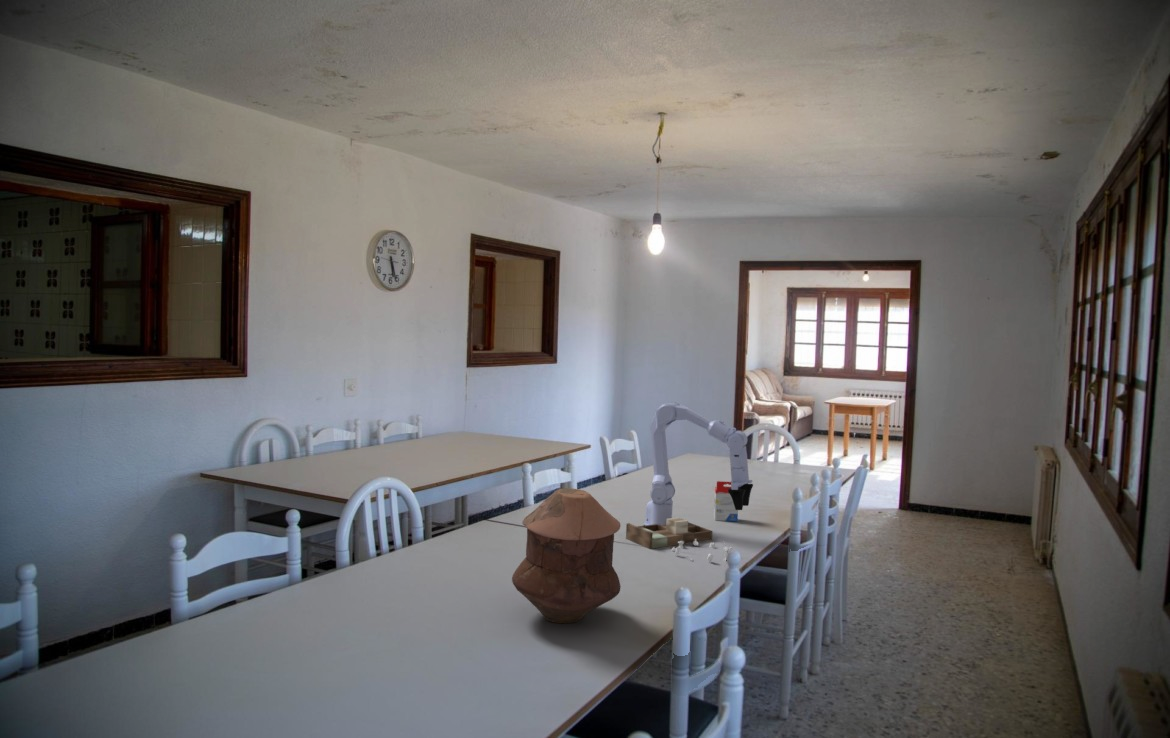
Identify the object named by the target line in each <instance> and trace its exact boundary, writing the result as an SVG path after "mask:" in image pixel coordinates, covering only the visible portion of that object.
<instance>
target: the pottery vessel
mask: <svg viewBox="0 0 1170 738" xmlns="http://www.w3.org/2000/svg"><path fill="white" fill-rule="evenodd" d="M521 523H522V525H523V526H525V528H526V544H525V547H526V549H525V558H524V559H523V560H522V561H521V562H520V564H519V565H518V567H517V568H516V569H515V571H514V572H513V574H512V577H511V583H512V584H513V586H514V587H515V589H516V590H517V592H519V593H520V594H521V595H522V596H524V598H526V599H527V601H529V602H530V603H531V604H532V605H533V607H534V608H535V609H537V610H538V611H539V613H541V614H542V616H543V618H544V619H545V620H547V621H549V622H552V623H556V624H569V623H570V624H571V623H575V622H579V621H581V620H582V618H583V617H584V615H586V614H588V613H590V612H591V611H593V610H595V609H597V608H599V607H600V606H602V605H604V604H606V603H607V602H610V601H612V600H613V599H615V598H617V596H618V595H619V594H620V591H621V583H620V578H619V576H618V574H617V572H616V570H615V568H614V567H613V559H614V558H613V557H614V543H615V542H614V541H615V534H616V533H617V532H619V530H620V529H621V522H620V521H619V520H618V519H617V518H616V517H614V516H613V515H612V514H611V513H610V512H608V511H607V510H606V509H605V508H604V507H603V505H601V504H600V503H599V501H597V499H596V498H595V497H594V496H592V494H591V493H589V492H587V491H586V490H583V489H577V488H571V487H568V488H559V489H556V490H555V491H554V492H552V494H550V495H549V496H548V497H547V498H546V499H544V500H543V502H541V503H540V504H539V505H538V506H537V507H536V508H535V509H534V510H533V511H531V513H529V514H528V515H526V516H525V517H524V518H523V520H522V522H521Z"/></svg>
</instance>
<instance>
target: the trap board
mask: <svg viewBox="0 0 1170 738" xmlns="http://www.w3.org/2000/svg"><path fill="white" fill-rule="evenodd" d="M625 539H626V540H629V541H631V542H632V543H635V544H638V545H640V546H643V547H644V548H647V549H649V550H650V549H658V548H664V547H665V548H666V547H670V546H673V547H674V546H679V543H678V541H684V543H683V545H687V544H693V542H694V541H695V539H696V541H697V542H698V543H701V542H707V541H713V530H711V529H707V528H705V527H702V526H699V525H696V524H695V523H691V522H689V521H688V533H683V534H673V533H671V532H668V531H666V525H659V524H653V525H634V524H633V523H630V522H628V523H626V529H625Z"/></svg>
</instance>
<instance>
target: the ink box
mask: <svg viewBox="0 0 1170 738" xmlns="http://www.w3.org/2000/svg"><path fill="white" fill-rule="evenodd" d="M724 485H726V486H724ZM727 485H728V486H727ZM729 488H731V481H722V480H721V481H720V480H718V481H716V487H714V504H713V505H714V506H713V519H714V521H722V522H737V523H738V520H739V517H738V516H739V515H738V513H739V510H736V509H735V506H734V503H733V500H732V497H731V495H730V494H729V492H728V489H729Z"/></svg>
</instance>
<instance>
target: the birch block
mask: <svg viewBox="0 0 1170 738" xmlns="http://www.w3.org/2000/svg"><path fill="white" fill-rule="evenodd" d="M688 522H689V520H686V519H684V518H681V517H672V518H669V519H667V521H666V531H668V532H671V533H673V534H683V533H688Z"/></svg>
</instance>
